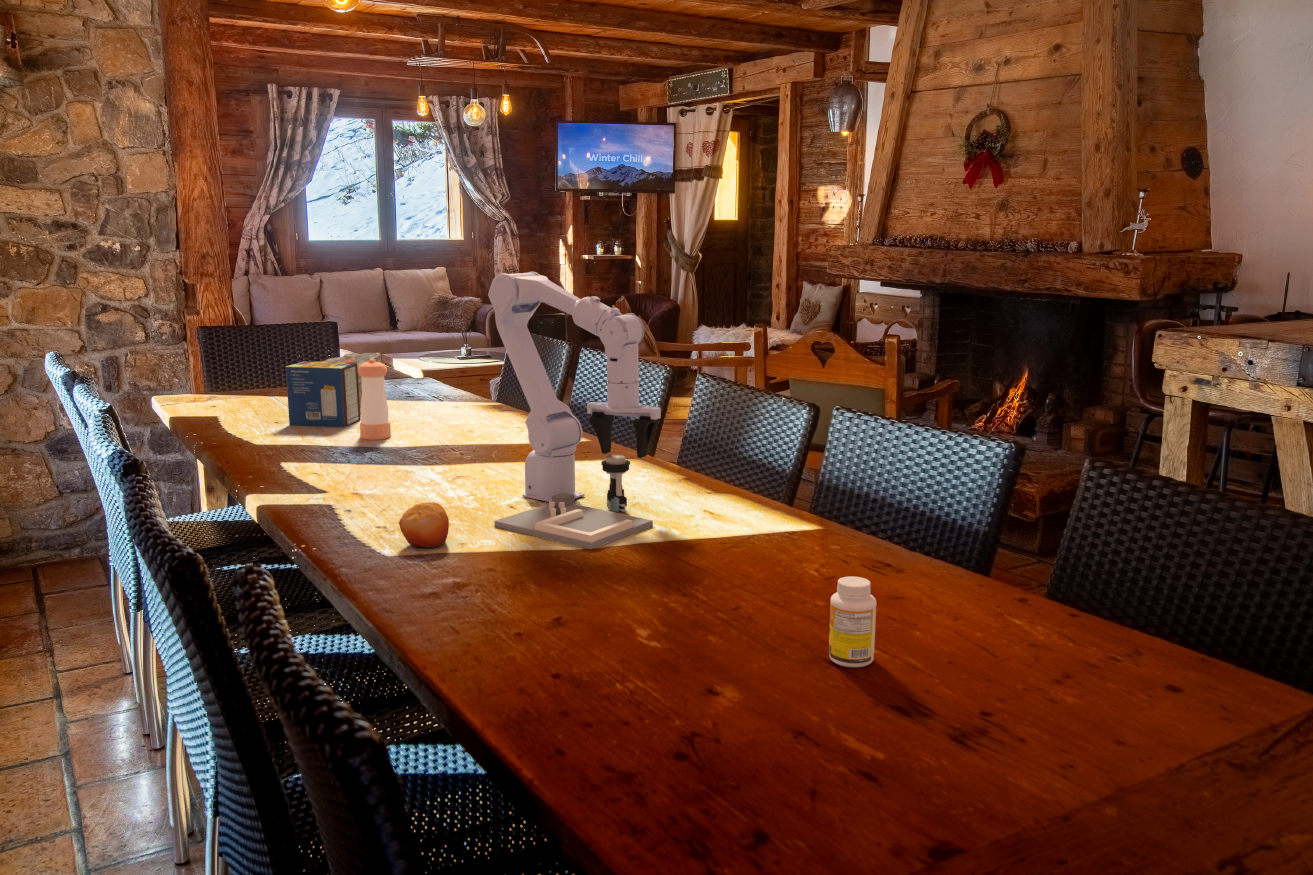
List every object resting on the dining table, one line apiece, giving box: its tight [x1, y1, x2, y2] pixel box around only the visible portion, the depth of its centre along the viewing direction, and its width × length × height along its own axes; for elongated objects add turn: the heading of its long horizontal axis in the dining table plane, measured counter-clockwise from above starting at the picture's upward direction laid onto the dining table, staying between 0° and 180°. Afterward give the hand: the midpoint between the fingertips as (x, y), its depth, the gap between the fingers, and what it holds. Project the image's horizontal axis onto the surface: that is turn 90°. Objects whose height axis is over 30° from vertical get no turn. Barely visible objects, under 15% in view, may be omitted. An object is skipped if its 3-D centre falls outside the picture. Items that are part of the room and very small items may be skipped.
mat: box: [493, 503, 654, 550], centre depth 191 cm, size 22×17×1 cm
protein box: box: [285, 360, 361, 428], centre depth 283 cm, size 10×15×16 cm
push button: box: [600, 454, 631, 513], centre depth 201 cm, size 7×5×10 cm
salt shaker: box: [357, 359, 392, 441], centre depth 265 cm, size 7×7×19 cm
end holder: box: [535, 509, 632, 543], centre depth 186 cm, size 12×11×1 cm
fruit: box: [398, 501, 450, 549], centre depth 180 cm, size 8×8×8 cm
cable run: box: [548, 493, 576, 517], centre depth 198 cm, size 4×11×2 cm, turn 175°
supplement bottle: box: [828, 575, 877, 668], centre depth 133 cm, size 6×6×10 cm
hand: (624, 454), depth 199 cm, fingers open, 7 cm apart
